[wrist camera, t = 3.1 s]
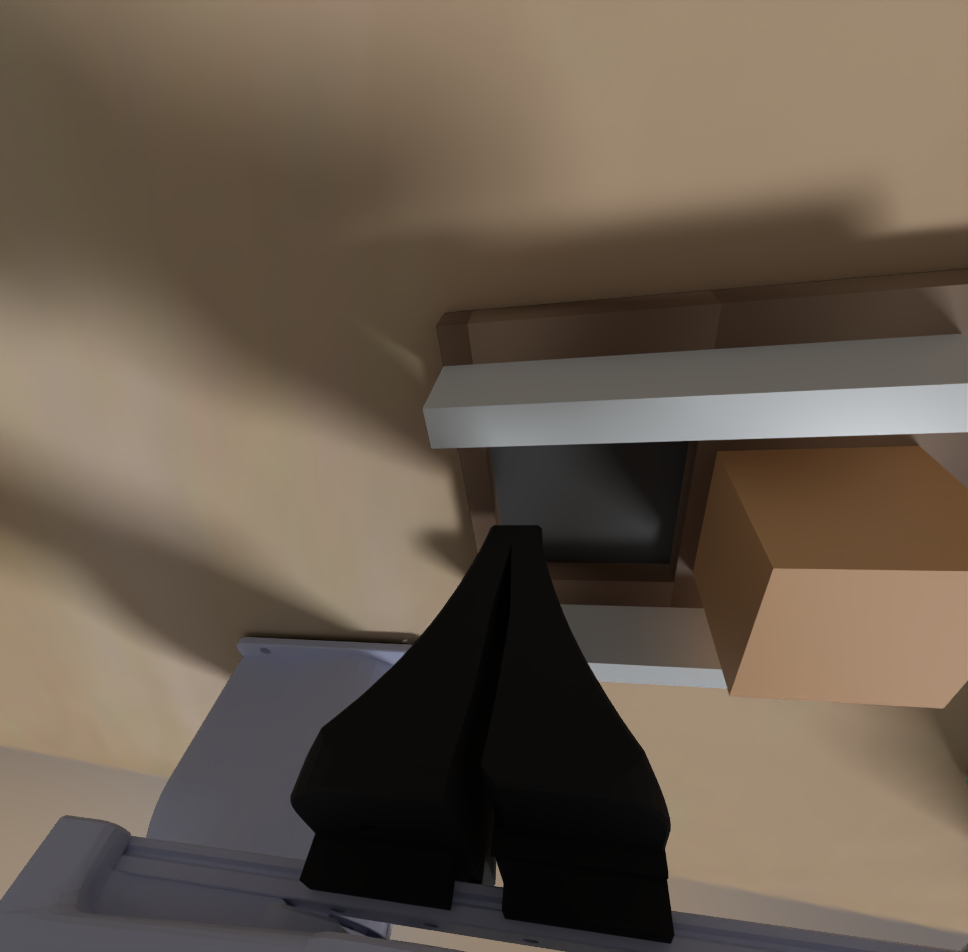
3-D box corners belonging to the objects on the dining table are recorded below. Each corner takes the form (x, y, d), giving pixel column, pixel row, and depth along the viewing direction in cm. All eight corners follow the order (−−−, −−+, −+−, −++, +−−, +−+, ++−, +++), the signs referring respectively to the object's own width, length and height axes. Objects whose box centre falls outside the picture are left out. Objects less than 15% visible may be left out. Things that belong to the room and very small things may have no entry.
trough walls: (489, 619, 17) (481, 674, 16) (443, 366, 12) (422, 408, 10) (818, 631, 15) (851, 695, 14) (961, 333, 10) (1049, 379, 8)
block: (693, 571, 15) (729, 695, 11) (717, 451, 12) (773, 568, 9) (855, 574, 14) (942, 708, 11) (919, 446, 11) (1061, 572, 8)
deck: (495, 614, 19) (492, 635, 18) (444, 312, 12) (436, 326, 11) (1030, 632, 16) (1056, 659, 15) (1394, 232, 9) (1480, 243, 8)
